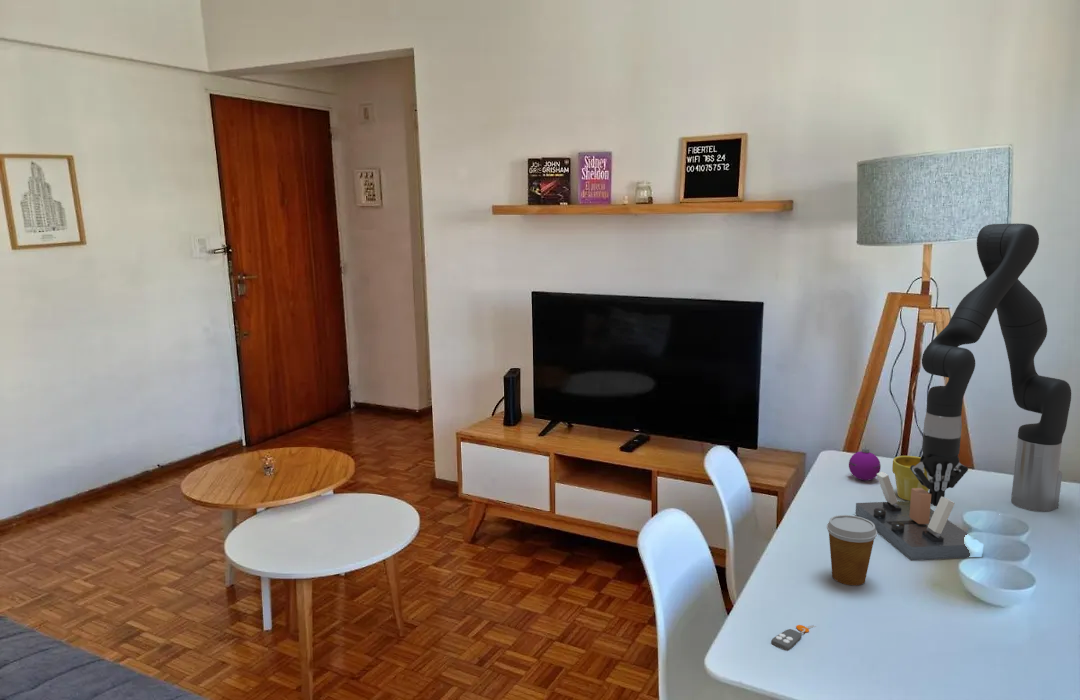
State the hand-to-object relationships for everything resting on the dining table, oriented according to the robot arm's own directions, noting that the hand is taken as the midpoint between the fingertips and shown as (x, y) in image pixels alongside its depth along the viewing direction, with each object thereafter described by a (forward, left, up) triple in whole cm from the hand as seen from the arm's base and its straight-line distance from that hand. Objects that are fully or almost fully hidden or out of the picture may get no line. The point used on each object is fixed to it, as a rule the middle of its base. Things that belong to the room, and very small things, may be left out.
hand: (935, 504), depth 171 cm
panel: (+4, 0, -7) cm, 8 cm away
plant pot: (-8, -22, -7) cm, 25 cm away
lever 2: (+5, +8, -3) cm, 10 cm away
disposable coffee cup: (+29, +19, -7) cm, 36 cm away
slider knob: (+4, 0, -4) cm, 5 cm away
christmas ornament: (-2, -36, -7) cm, 37 cm away
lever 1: (+5, -9, -3) cm, 11 cm away
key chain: (+48, +38, -8) cm, 61 cm away
